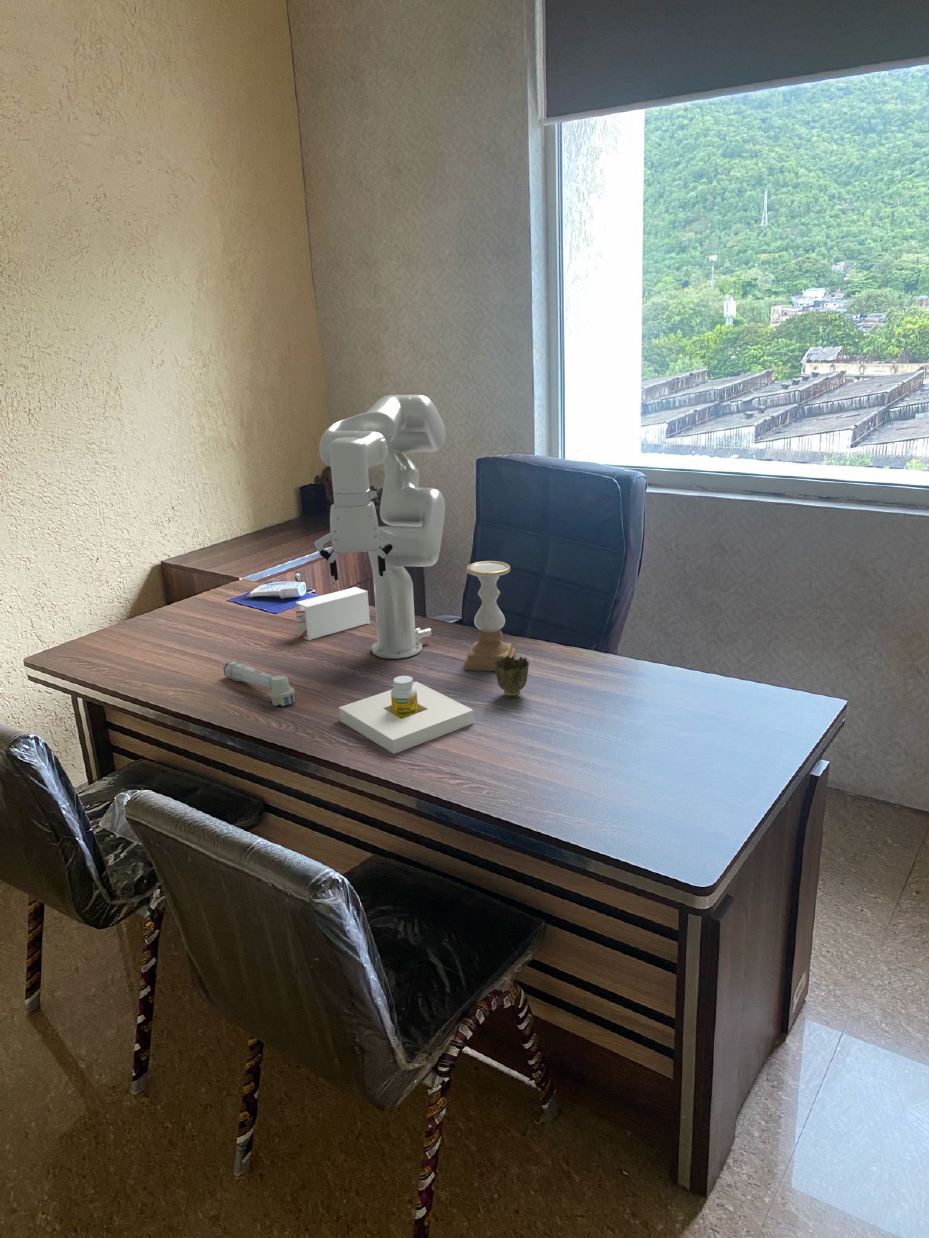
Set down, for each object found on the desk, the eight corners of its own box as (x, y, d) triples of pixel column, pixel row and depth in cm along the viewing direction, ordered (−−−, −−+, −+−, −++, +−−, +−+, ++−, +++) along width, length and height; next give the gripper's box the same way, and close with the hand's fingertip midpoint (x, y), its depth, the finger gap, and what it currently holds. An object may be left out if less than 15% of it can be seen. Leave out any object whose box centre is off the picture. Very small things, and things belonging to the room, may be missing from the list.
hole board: (416, 693, 203) (416, 681, 202) (473, 723, 188) (473, 709, 187) (339, 720, 191) (338, 707, 190) (393, 753, 177) (392, 740, 176)
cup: (534, 691, 202) (533, 657, 200) (521, 704, 196) (521, 670, 193) (503, 686, 205) (502, 653, 203) (490, 699, 199) (489, 665, 196)
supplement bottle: (416, 714, 193) (413, 672, 190) (420, 725, 188) (418, 682, 185) (390, 717, 192) (388, 675, 189) (394, 728, 187) (392, 685, 184)
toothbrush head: (239, 657, 217) (296, 671, 199) (244, 684, 219) (301, 700, 200) (219, 664, 214) (275, 678, 195) (224, 691, 215) (280, 708, 197)
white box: (358, 619, 252) (356, 586, 249) (369, 624, 248) (367, 591, 245) (294, 637, 240) (291, 603, 237) (305, 642, 236) (302, 608, 233)
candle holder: (472, 652, 225) (469, 559, 217) (516, 654, 223) (515, 560, 215) (463, 669, 215) (460, 572, 207) (510, 672, 213) (508, 574, 205)
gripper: (391, 491, 194) (396, 567, 200) (309, 497, 192) (317, 575, 198) (395, 499, 187) (400, 578, 194) (310, 506, 185) (318, 586, 191)
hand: (358, 576), depth 196 cm, fingers open, 9 cm apart
